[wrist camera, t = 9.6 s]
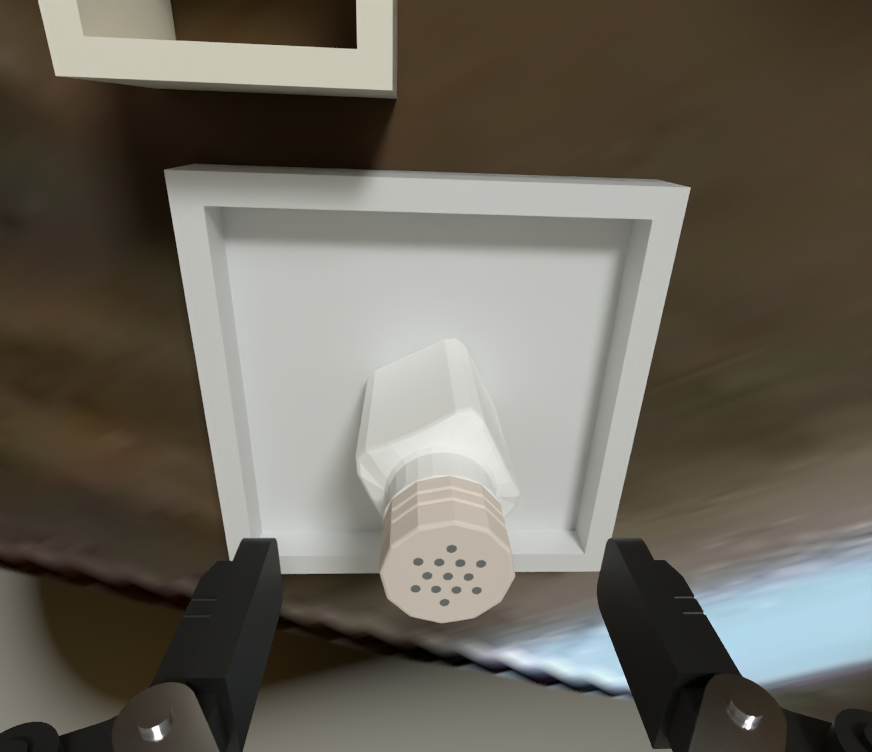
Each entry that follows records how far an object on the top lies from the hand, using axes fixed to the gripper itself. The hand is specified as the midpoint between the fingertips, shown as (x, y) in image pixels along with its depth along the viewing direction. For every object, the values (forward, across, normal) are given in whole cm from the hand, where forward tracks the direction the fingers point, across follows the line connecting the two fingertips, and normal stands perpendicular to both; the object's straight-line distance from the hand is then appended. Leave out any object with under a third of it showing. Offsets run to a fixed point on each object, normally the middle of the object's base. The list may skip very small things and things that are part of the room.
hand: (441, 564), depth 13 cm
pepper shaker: (+9, 0, 0) cm, 9 cm away
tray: (+10, 0, 0) cm, 10 cm away
